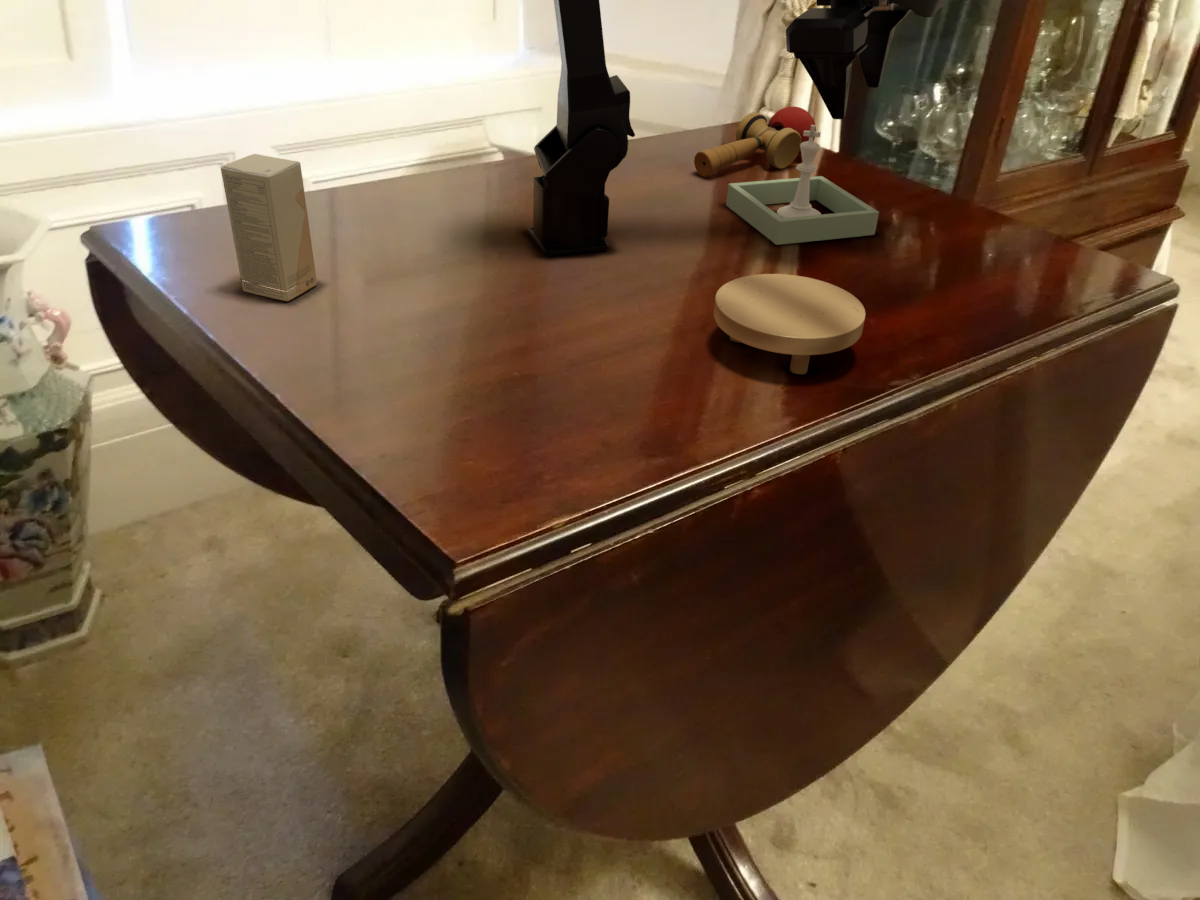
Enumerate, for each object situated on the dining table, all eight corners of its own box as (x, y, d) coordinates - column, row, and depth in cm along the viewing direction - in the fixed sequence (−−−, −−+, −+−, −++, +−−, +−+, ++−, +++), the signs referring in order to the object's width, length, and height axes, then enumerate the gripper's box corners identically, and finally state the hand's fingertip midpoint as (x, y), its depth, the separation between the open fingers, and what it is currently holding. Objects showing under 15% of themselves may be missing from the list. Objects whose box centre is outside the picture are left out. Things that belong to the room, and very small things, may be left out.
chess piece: (821, 230, 108) (837, 134, 103) (773, 225, 109) (787, 129, 103) (822, 214, 112) (838, 121, 107) (776, 209, 113) (789, 116, 107)
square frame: (776, 245, 104) (779, 221, 103) (725, 205, 113) (728, 183, 112) (874, 235, 108) (879, 211, 106) (818, 197, 117) (821, 175, 115)
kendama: (730, 198, 119) (834, 151, 127) (724, 143, 116) (830, 99, 124) (684, 190, 125) (786, 146, 133) (677, 138, 121) (782, 96, 130)
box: (319, 285, 91) (304, 161, 85) (287, 303, 88) (270, 176, 82) (271, 273, 93) (254, 151, 87) (238, 290, 90) (218, 164, 84)
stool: (789, 399, 78) (797, 352, 76) (680, 340, 86) (684, 295, 84) (886, 356, 85) (896, 312, 83) (777, 304, 92) (783, 262, 90)
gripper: (911, -54, 81) (906, 141, 90) (980, -103, 93) (970, 74, 102) (779, -49, 87) (787, 134, 95) (861, -96, 99) (860, 71, 108)
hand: (856, 102), depth 100 cm, fingers open, 9 cm apart
